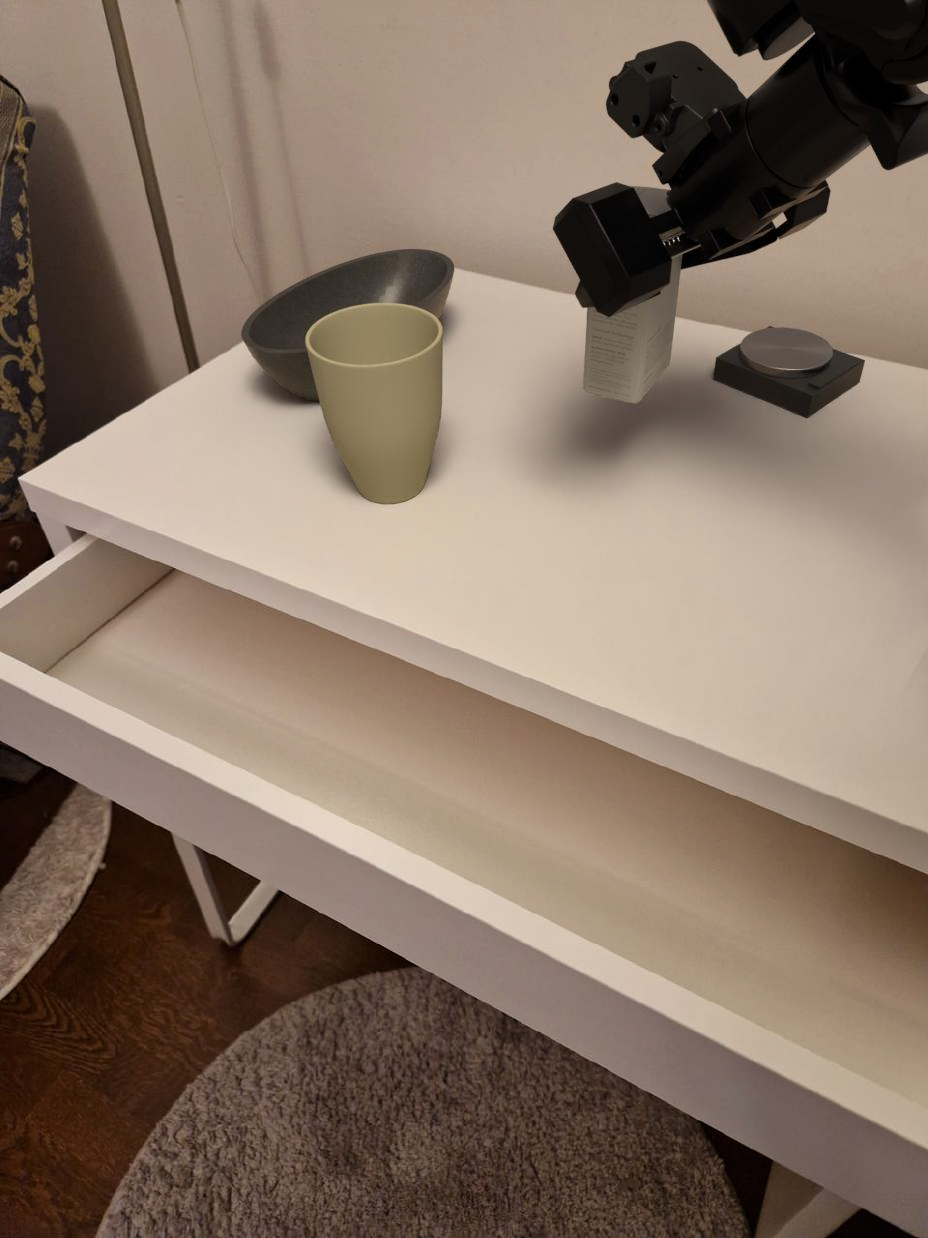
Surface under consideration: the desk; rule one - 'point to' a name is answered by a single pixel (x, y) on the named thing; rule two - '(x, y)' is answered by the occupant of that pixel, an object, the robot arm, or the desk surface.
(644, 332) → the cosmetic box
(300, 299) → the bowl
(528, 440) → the desk surface
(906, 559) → the desk surface
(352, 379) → the olive green cup
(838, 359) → the scale
